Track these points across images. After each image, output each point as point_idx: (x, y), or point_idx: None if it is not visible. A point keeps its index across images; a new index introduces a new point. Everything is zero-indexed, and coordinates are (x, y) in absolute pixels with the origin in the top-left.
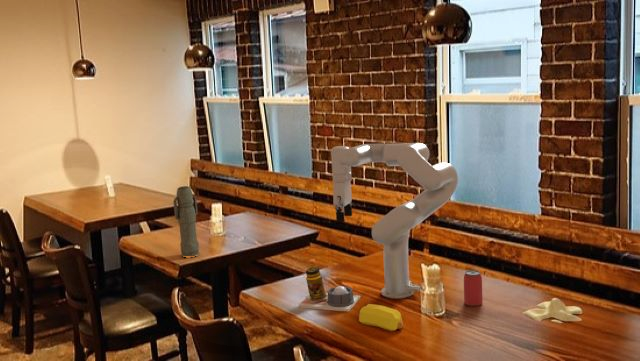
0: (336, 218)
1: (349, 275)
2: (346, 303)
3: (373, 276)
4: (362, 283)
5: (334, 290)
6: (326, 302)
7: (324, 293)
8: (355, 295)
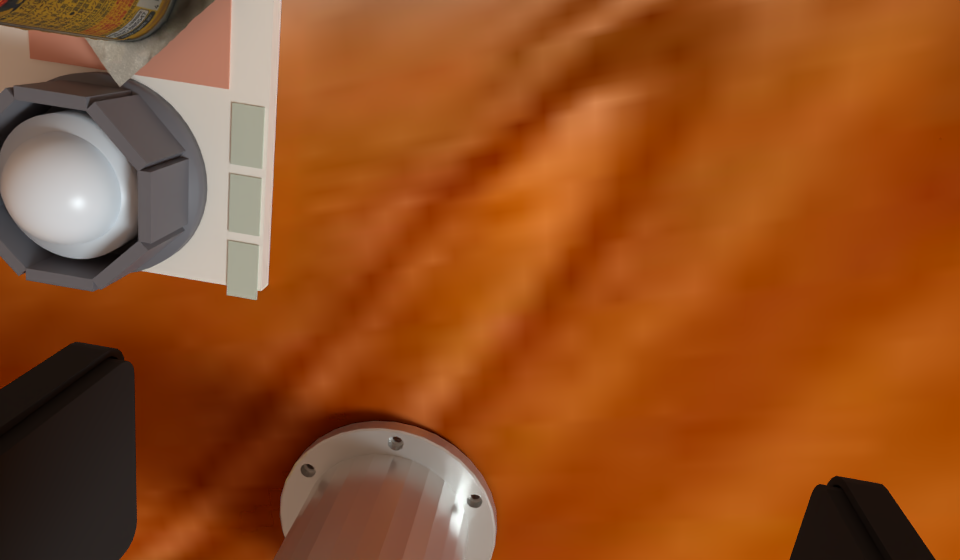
0: (16, 382)
1: (809, 122)
2: None
3: (762, 332)
4: (588, 264)
5: (18, 150)
6: (76, 63)
7: (91, 38)
8: (254, 261)
